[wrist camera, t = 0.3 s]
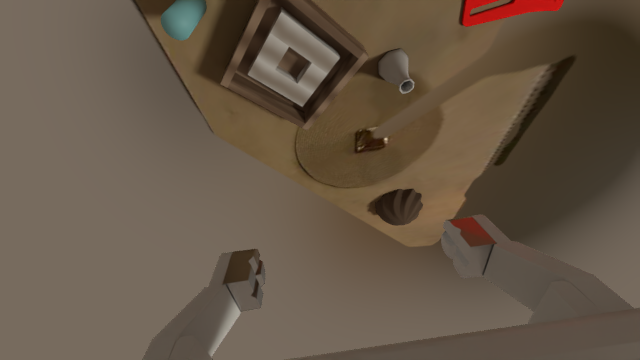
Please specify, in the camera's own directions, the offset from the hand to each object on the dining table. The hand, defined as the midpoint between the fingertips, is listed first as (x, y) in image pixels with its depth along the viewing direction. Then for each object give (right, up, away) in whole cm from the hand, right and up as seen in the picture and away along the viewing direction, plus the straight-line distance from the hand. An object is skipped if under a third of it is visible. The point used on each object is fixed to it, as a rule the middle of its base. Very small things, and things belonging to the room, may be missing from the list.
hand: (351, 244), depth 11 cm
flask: (+16, +30, +47) cm, 58 cm away
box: (-7, +30, +43) cm, 53 cm away
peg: (-24, +35, +34) cm, 55 cm away
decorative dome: (+32, -7, +92) cm, 98 cm away
